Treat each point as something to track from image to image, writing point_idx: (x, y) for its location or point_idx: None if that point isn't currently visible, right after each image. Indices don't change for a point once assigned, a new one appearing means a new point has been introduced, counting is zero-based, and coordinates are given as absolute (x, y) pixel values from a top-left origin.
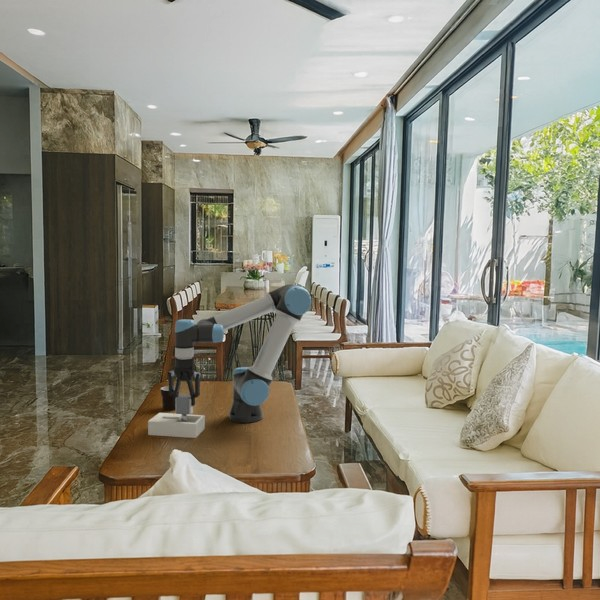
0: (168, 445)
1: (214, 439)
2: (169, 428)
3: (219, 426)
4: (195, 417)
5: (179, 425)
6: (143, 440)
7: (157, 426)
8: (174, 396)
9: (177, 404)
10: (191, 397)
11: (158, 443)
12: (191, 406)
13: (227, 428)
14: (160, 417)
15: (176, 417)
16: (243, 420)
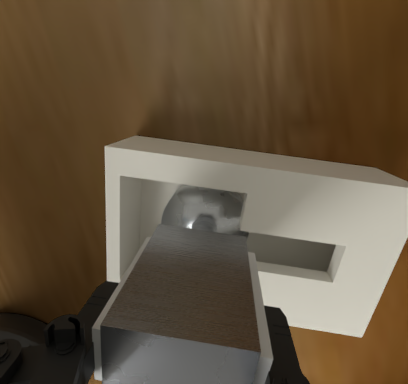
0: (245, 6)
1: (47, 122)
2: (271, 161)
3: (84, 279)
4: None
5: (211, 157)
6: (395, 80)
7: (347, 173)
8: (290, 380)
9: (239, 282)
10: (74, 343)
11: (306, 36)
12: None
13: (46, 258)
14: (348, 261)
15: None
16: (5, 320)
